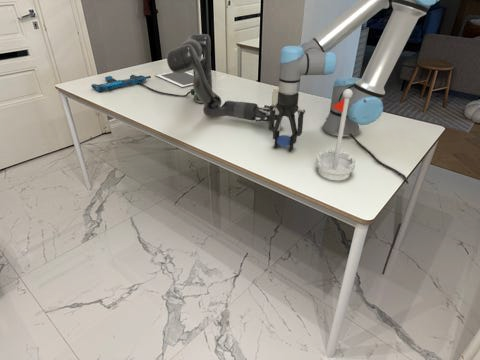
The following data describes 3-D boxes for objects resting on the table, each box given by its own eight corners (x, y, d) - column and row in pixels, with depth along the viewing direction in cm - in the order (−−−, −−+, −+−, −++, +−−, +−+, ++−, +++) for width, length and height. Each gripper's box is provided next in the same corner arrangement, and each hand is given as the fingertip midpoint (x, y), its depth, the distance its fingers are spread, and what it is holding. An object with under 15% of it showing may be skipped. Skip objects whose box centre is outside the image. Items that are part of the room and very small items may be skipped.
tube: (281, 130, 150) (284, 89, 140) (271, 131, 150) (273, 89, 140) (279, 126, 154) (282, 86, 144) (269, 126, 154) (271, 86, 143)
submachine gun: (137, 69, 223) (155, 75, 206) (138, 75, 225) (156, 81, 208) (84, 79, 204) (99, 87, 188) (85, 85, 206) (101, 94, 190)
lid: (277, 139, 137) (277, 134, 136) (291, 140, 136) (291, 135, 135) (276, 145, 133) (276, 140, 131) (290, 146, 132) (291, 142, 131)
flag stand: (338, 160, 128) (352, 80, 111) (360, 177, 117) (380, 93, 101) (308, 166, 124) (318, 85, 107) (328, 185, 113) (343, 98, 97)
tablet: (155, 75, 221) (155, 75, 220) (182, 70, 232) (182, 69, 231) (182, 87, 200) (182, 86, 200) (210, 80, 211) (209, 80, 211)
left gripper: (240, 108, 145) (278, 113, 140) (251, 97, 156) (287, 102, 151) (240, 124, 149) (277, 130, 144) (250, 113, 160) (286, 117, 155)
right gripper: (316, 92, 122) (308, 149, 135) (269, 85, 129) (266, 139, 142) (310, 99, 117) (302, 157, 129) (260, 90, 124) (258, 147, 137)
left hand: (282, 115), depth 147 cm, fingers closed on tube, 4 cm apart
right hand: (283, 148), depth 136 cm, fingers closed on lid, 6 cm apart
